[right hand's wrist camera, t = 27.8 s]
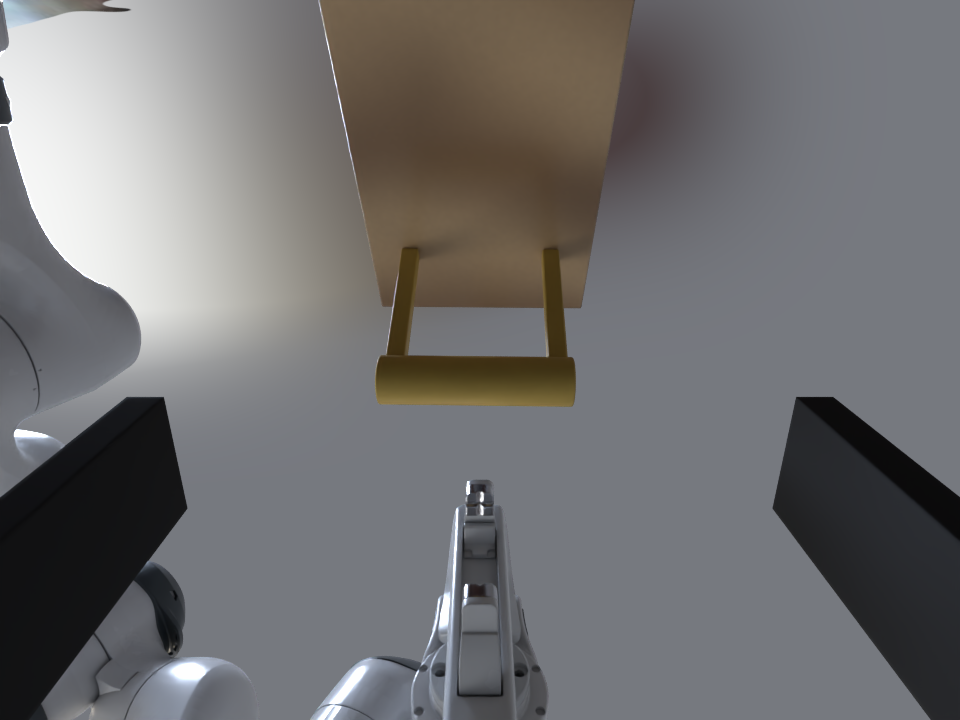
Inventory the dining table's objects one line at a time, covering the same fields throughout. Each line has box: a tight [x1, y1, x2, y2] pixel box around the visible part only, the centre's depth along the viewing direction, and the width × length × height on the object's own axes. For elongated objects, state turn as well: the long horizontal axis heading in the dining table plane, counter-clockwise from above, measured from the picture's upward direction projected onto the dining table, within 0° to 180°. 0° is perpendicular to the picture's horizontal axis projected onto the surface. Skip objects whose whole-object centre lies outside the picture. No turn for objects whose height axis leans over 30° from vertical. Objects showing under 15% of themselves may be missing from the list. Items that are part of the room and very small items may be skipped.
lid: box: [318, 0, 635, 407], centre depth 21 cm, size 15×9×8 cm
